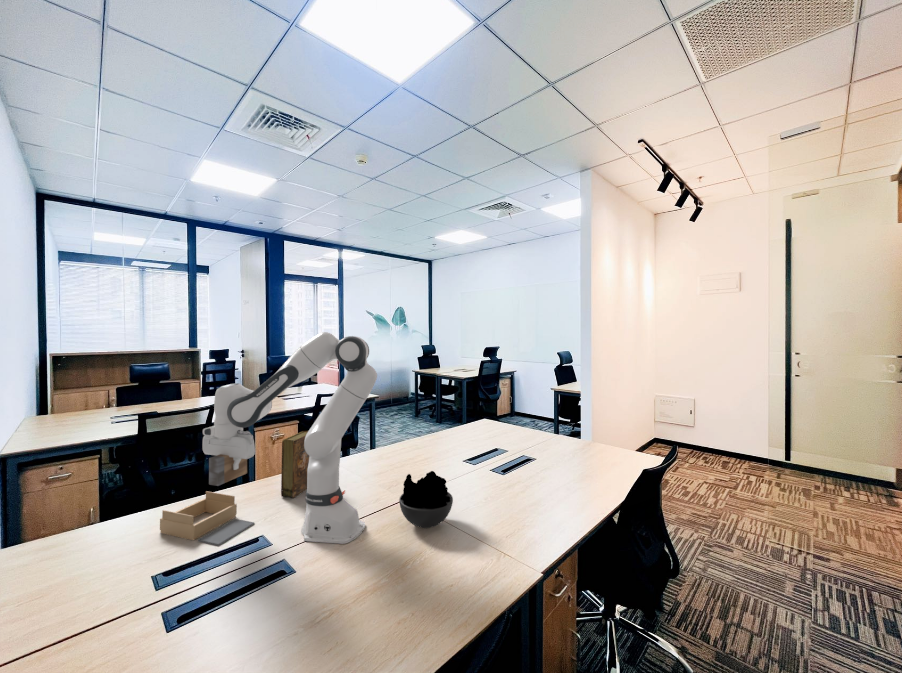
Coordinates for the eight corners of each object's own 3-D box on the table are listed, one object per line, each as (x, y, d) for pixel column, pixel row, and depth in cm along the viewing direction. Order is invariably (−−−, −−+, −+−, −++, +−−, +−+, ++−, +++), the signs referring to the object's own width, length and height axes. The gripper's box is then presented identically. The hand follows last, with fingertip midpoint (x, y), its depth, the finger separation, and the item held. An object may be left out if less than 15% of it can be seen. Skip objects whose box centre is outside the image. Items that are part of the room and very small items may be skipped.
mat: (254, 524, 137) (254, 522, 137) (218, 545, 123) (218, 544, 123) (235, 520, 140) (235, 518, 140) (197, 541, 125) (197, 539, 125)
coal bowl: (460, 518, 144) (461, 470, 144) (437, 544, 125) (438, 489, 125) (416, 507, 152) (416, 462, 152) (388, 530, 134) (389, 479, 134)
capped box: (247, 473, 136) (247, 448, 136) (218, 485, 125) (218, 459, 125) (238, 472, 138) (238, 447, 138) (209, 484, 126) (209, 458, 126)
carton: (236, 517, 142) (236, 496, 142) (194, 540, 126) (194, 517, 126) (204, 510, 147) (205, 490, 147) (159, 532, 130) (160, 510, 130)
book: (303, 483, 175) (304, 430, 175) (314, 484, 174) (314, 431, 174) (281, 498, 159) (281, 440, 159) (292, 499, 158) (293, 440, 158)
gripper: (259, 429, 131) (259, 468, 131) (214, 425, 137) (214, 462, 137) (245, 434, 125) (245, 474, 125) (198, 429, 131) (198, 468, 131)
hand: (228, 468), depth 131 cm, fingers closed on capped box, 4 cm apart
